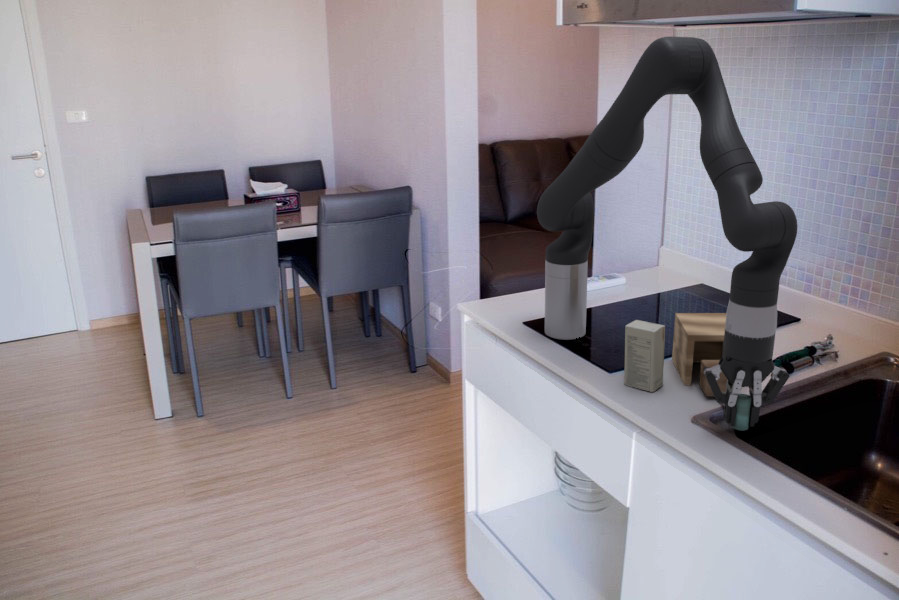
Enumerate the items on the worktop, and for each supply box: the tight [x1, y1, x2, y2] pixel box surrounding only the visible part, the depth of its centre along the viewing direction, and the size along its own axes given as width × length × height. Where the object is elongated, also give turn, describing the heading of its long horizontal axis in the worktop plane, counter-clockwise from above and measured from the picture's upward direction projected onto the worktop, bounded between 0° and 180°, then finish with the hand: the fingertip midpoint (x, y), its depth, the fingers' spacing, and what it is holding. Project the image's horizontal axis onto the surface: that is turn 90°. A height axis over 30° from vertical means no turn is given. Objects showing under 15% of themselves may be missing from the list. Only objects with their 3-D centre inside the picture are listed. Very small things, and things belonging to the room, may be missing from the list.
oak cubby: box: [671, 312, 727, 386], centre depth 145 cm, size 12×10×10 cm
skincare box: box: [623, 319, 666, 393], centre depth 140 cm, size 6×4×12 cm
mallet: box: [699, 360, 751, 432], centre depth 131 cm, size 18×5×6 cm, turn 177°
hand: (740, 423), depth 124 cm, fingers closed on mallet, 2 cm apart
